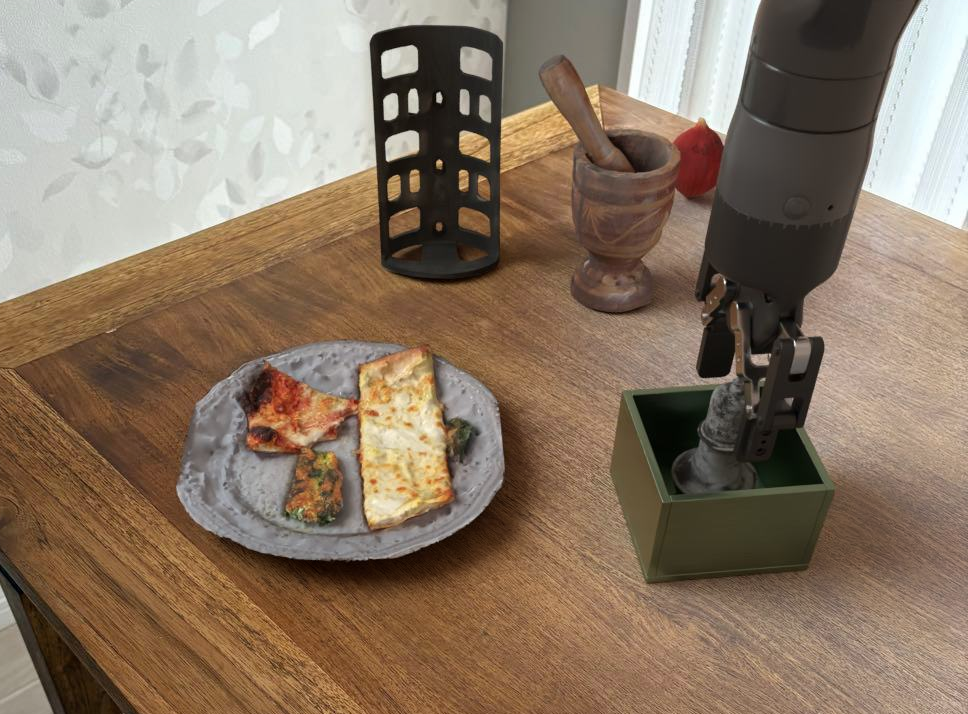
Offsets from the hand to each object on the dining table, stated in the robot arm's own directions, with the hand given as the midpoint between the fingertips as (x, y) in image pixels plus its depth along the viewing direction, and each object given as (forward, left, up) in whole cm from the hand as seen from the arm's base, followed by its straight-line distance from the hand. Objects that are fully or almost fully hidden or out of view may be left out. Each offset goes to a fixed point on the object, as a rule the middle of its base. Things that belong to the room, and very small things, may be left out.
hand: (730, 414), depth 72 cm
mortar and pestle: (+2, -29, -10) cm, 31 cm away
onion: (-11, -44, -10) cm, 46 cm away
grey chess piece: (0, 0, -9) cm, 9 cm away
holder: (+15, -36, -10) cm, 40 cm away
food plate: (+25, -9, -10) cm, 28 cm away
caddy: (0, 0, -10) cm, 10 cm away
